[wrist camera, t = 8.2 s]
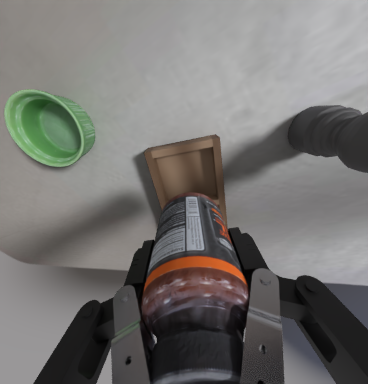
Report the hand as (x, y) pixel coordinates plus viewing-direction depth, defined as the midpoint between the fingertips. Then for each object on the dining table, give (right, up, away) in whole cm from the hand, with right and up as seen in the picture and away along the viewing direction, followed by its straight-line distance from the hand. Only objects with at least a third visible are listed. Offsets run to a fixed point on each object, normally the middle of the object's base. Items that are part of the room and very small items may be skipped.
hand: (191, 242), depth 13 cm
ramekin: (-18, +14, +11) cm, 25 cm away
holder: (+1, +3, +16) cm, 16 cm away
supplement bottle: (0, +2, +3) cm, 4 cm away
